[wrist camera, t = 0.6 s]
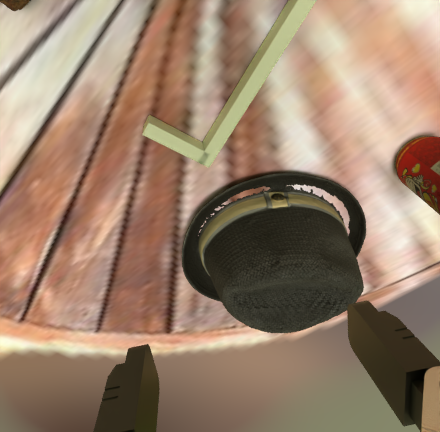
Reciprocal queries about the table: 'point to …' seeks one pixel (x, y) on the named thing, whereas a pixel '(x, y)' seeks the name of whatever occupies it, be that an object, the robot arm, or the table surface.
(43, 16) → the table surface
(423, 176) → the soda can
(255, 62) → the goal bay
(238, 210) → the fedora
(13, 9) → the brick
